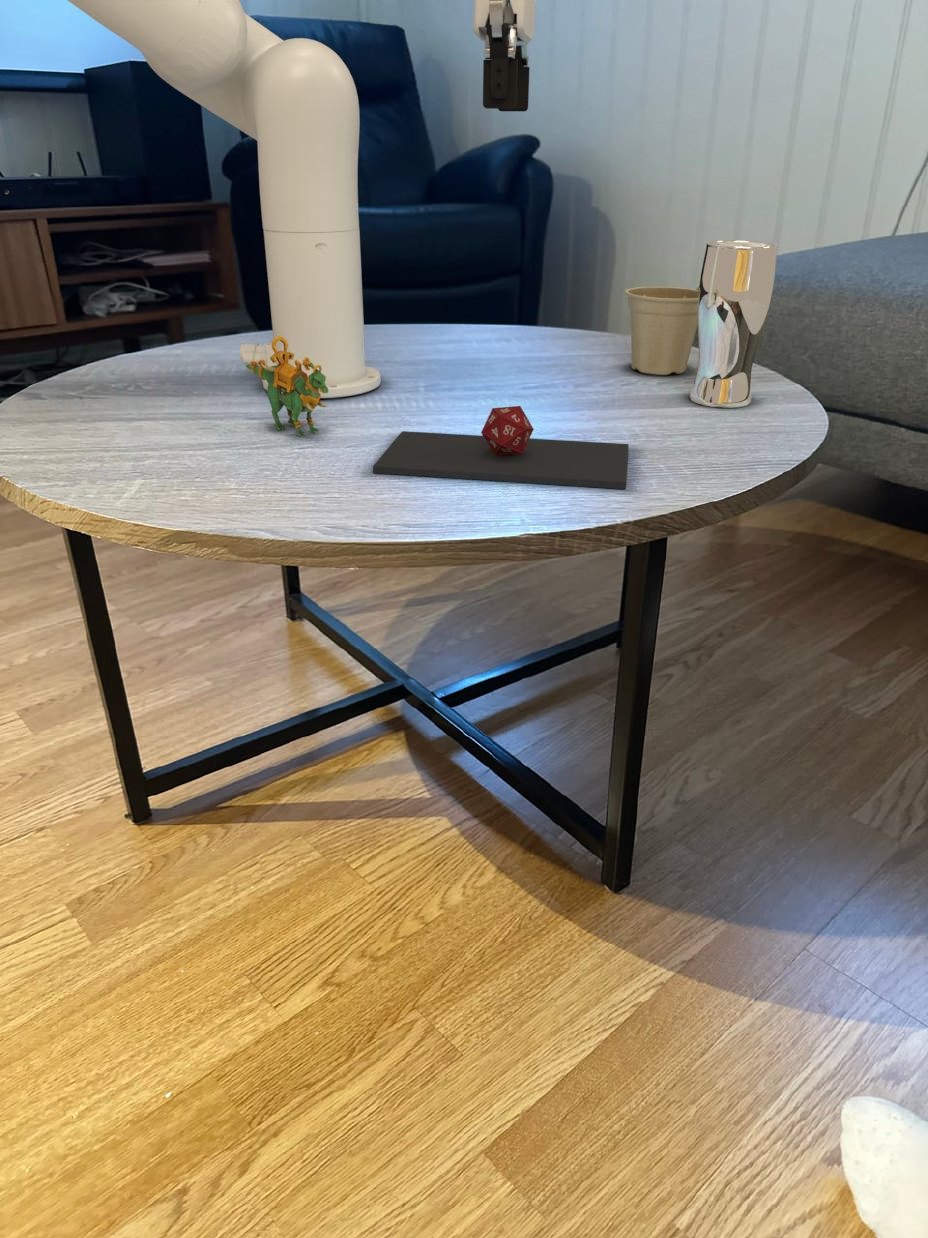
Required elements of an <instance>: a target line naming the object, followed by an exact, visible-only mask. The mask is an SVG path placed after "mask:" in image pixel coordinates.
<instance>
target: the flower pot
mask: <svg viewBox="0 0 928 1238" xmlns="http://www.w3.org/2000/svg"><path fill="white" fill-rule="evenodd" d="M698 292H699V289H694V288H689V287H688V288H687V287H677V286H676V287H675V286H638V287H631V288H628V289H625V290H624V294H625V296H627V307H628V308H629V315H630V316H629V317H630V340H631V341H630V346H631V347H630V349H631V369H632V370H635V371H636V370H637V371H639V372H640V373H643V374H646V375H657V376H668V375H670V374H672V373H674V374H677V375H680V374H683V373H685V372H686V370H687V367H688V363H689V358H690V355H691V352H692V347H693V344H694V339H695V337H696V332H697V330H698Z"/></svg>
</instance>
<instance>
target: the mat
mask: <svg viewBox="0 0 928 1238" xmlns="http://www.w3.org/2000/svg"><path fill="white" fill-rule="evenodd" d="M629 447H630V446H629V443H619V442H618V443H615V442H601V441H600V442H599V441H583V440H581V441H580V440H566V439H546V438H531V437H530V438H529V441H528V443H527V445H526V447H525V449H524V451H523V453H522V454H506V455H495V454H494V452H493V451H492V449H491V448H490V446H489V444H488V443H487V441H486V440H485V438H484V436H483V435H476V434H460V433H459V434H458V433H443V432H442V433H441V432H426V431H425V432H424V431H423V432H422V431H407V430H402V431H401V432H400V433H399V435H398V436H397V437H396V438H395V439H394V440H393V441H392V443H391V444H390V445H389V446H388V447H387V448H386V450H385V451H384V452H383V454H382V455H381V456H380V457H379V458H378V459H377V461H375V463H374V464H373V465H372V472H373V474H384V475H385V474H386V475H400V476H401V475H402V476H414V477H415V476H416V477H428V478H429V477H431V478H445V479H459V480H460V479H461V480H462V479H463V480H475V481H476V480H477V481H494V482H508V483H509V482H510V483H523V484H536V485H537V484H538V485H553V486H555V485H556V486H571V487H584V488H585V487H586V488H598V489H599V488H601V489H614V490H615V489H616V490H617V489H618V490H626V489H627V481H628V480H627V478H628V462H629Z"/></svg>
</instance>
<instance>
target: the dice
mask: <svg viewBox="0 0 928 1238" xmlns="http://www.w3.org/2000/svg"><path fill="white" fill-rule="evenodd" d="M533 432H534V427H533V425H532V424H531V422H530V420H529V418H528V417H527V415H526V414H525V411H524V410H523V408H522V406H521V405H514V406H502V407H501V406H500V407H492V408H491V410H490V412H489V415H488V417H487V418H486V421H485V423H484V425H483V427H482V429H481V432H480V433H481V434H482V435H481V436H484V438H485V440H486V441H487V443H488V444H489V446H490V448H491V449H492V451H493V452H494V454H495V455H506V454H522V453H523V451H524V449H525V447H526V445H527V443H528V441H529V438H531V436H532V434H533Z"/></svg>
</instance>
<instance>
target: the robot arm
mask: <svg viewBox="0 0 928 1238" xmlns="http://www.w3.org/2000/svg"><path fill="white" fill-rule="evenodd" d="M66 1H67V2H69V3H70V4H71V5H73V6H74V7H76V8H77V9H79V10H80V11H81V12H83V13H85V14H86V16H89V17H90V18H91V19H93V20H94V21H95V22H97V23H98V24H100V25H101V26H102V27H104V28H106V29H107V30H109V31H110V32H112V33H113V34H115V35H116V36H118V37H119V38H121V39H122V40H124V41H125V42H127V43H128V44H129V45H131V46H133V48H135V49H137V50H138V51H139V52H140V53H141V55H142V56H143V58H144V60H145V61H146V63H147V64H148V66H149V67H150V69H152V70H153V71H154V73H155V74H156V75H157V76H159V78H161V79H162V80H163V81H164V82H166V83H167V84H168V85H170V86H171V87H172V88H174V89H175V90H177V91H178V92H180V93H181V94H182V95H184V96H186V97H188V98H189V99H191V100H193V101H194V102H195V103H197V104H198V105H200V106H201V107H203V108H205V109H206V110H208V111H209V112H211V113H212V114H213V115H216V116H217V117H218V118H220V119H222V120H224V121H225V122H227V123H228V124H230V125H232V126H233V127H234V128H236V129H237V130H239V131H241V132H242V133H244V134H245V135H247V136H248V137H250V138H252V139H253V140H255V141H257V142H256V143H257V161H258V162H257V163H258V181H259V182H258V185H259V197H260V198H259V199H260V210H261V212H260V213H261V222H262V229H263V241H264V250H265V260H266V261H265V262H266V273H267V282H268V294H269V305H270V306H269V307H270V315H271V328H272V337H273V338H272V340H271V341H269V342H268V343H266V344H260V343H248V342H247V343H245V342H244V343H241V344H240V346H239V357H240V360H241V362H242V364H244V365H248V364H250V361H256V363H257V365H259V364H258V361H260V360H264V361H265V366H268V367H270V366H275V365H277V362H278V361H277V362H276V363H273V362H272V361H271V359H270V357H271V356H272V355H273V354H275V352H274V350H273V349H272V341H273V339H274V338H275V337H277V336H281V337H283V338H285V340H286V341H287V343H288V348H287V352H291V353H293V354H294V357H293V360H290V359H289V362H288V363H289V364H290V365H292V366H294V367H295V368H296V365H295V360H298V361H299V362H300V363H302V364H301V366H302V371H304V372H305V373H306V374H307V376H309V375H310V374H312V373H313V369H312V368H311V367H309V366H308V368H310V370H306V369H305V366H304V365H303V359H305V357H308V358H309V360H310V362H312V364H313V365H314V366H316V365H320V366H321V368H322V370H321V373H322V374H323V375H325V376H326V379H325V384H326V386H327V388H328V393H322V392H320V389H319V393H321V398H320V399H334V398H335V399H336V398H344V397H351V396H356V395H362V394H365V393H368V392H371V391H373V390H375V389H377V388H378V387H380V385H381V379H382V378H381V373H380V371H379V370H378V369H376V368H374V367H371V366H368V365H366V347H365V346H366V345H365V321H364V300H363V280H362V279H363V278H362V255H361V254H362V253H361V236H360V235H361V234H360V233H361V231H360V217H359V188H358V185H359V184H358V176H359V175H358V171H359V169H358V168H359V147H360V146H359V145H360V125H361V123H360V104H359V103H360V102H359V96H358V91H357V87H356V83H355V81H354V78H353V76H352V75H351V72H350V70H349V68H348V66H347V65H346V64H345V62H344V61H343V59H342V58H341V57H340V56H339V55H338V53H336V52H335V50H333V49H332V48H330V47H329V46H327V45H325V44H324V43H322V42H320V41H317V40H315V39H312V38H311V39H310V38H306V37H305V38H304V37H298V38H297V37H293V38H289V39H282V38H280V36H278V35H277V34H275V33H274V32H272V31H271V30H269V29H268V28H267V27H265V26H264V25H263V24H261V23H260V22H258V21H257V20H255V18H253V17H251V16H250V15H248V14H247V13H246V12H245V11H244V7H243V6H242V4H241V2H240V0H66ZM473 2H474V3H473V33H474V35H475V36H476V37H477V38H478V39H480V41H482V42H484V59H482V60H483V61H482V62H483V65H482V66H483V67H482V71H483V73H482V106H483V108H484V109H486V110H487V109H488V110H489V109H495V110H496V109H497V110H498V111H499V112H527V111H528V110H529V99H530V97H529V94H530V90H529V89H530V66H529V58H530V57H529V43H530V42H531V41H533V39H534V35H535V34H534V33H535V23H536V11H537V10H536V9H537V0H474V1H473ZM276 349H277V352H278V351H284V344H283V343H282V342H281V341H278V342H277V343H276ZM282 355H283V354H281V357H282ZM275 359H276V358H275ZM276 360H277V359H276ZM278 363H279V362H278ZM251 365H252V364H251ZM317 370H318V371H319V367H318V368H317ZM261 380H262V381H261V382H262V387H263V389H264V390H266V391H267V389H268V383H267V381H266V380H263V379H262V378H261Z"/></svg>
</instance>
